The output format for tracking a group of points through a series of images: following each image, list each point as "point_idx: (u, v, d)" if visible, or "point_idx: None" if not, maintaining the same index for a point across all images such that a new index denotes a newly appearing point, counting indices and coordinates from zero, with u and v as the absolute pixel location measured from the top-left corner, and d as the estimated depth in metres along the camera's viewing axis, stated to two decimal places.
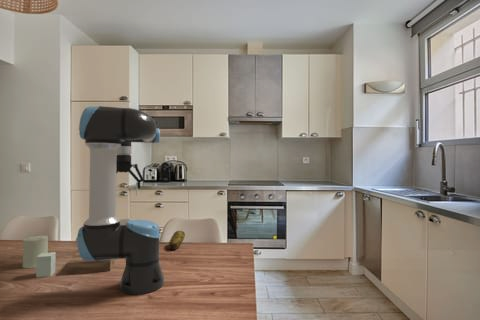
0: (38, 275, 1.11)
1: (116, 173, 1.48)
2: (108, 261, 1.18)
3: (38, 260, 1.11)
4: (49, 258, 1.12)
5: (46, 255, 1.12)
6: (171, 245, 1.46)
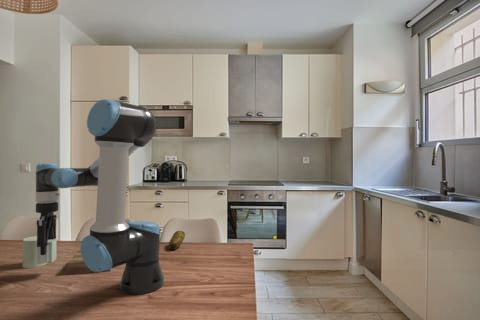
0: (39, 261, 1.10)
1: (50, 227, 1.15)
2: None
3: None
4: (50, 244, 1.12)
5: None
6: (171, 245, 1.46)
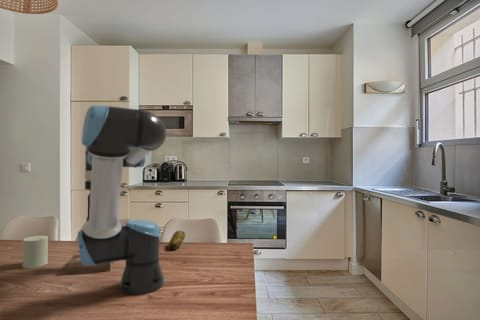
0: None
1: None
2: None
3: (88, 220, 1.21)
4: None
5: None
6: (171, 245, 1.46)
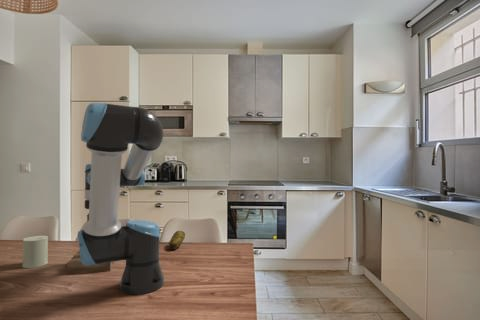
0: None
1: None
2: None
3: None
4: None
5: None
6: (171, 245, 1.45)
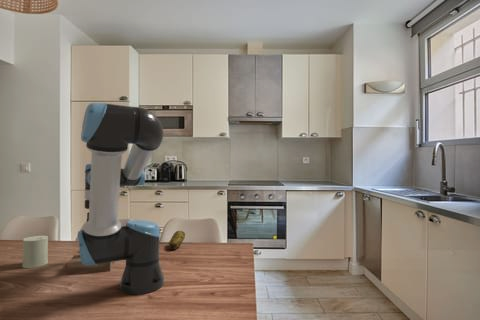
0: None
1: None
2: None
3: None
4: None
5: None
6: (171, 245, 1.45)
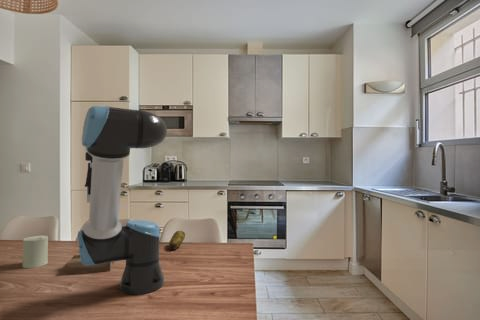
0: None
1: None
2: None
3: None
4: None
5: None
6: (171, 245, 1.45)
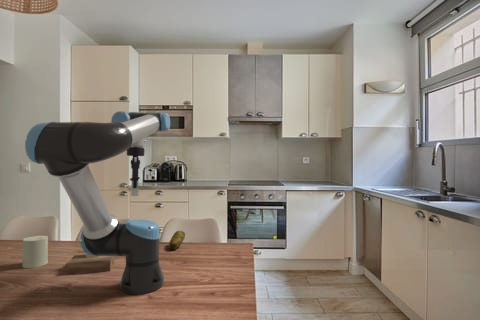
0: (88, 255, 1.21)
1: None
2: (108, 261, 1.18)
3: None
4: None
5: None
6: (171, 245, 1.45)
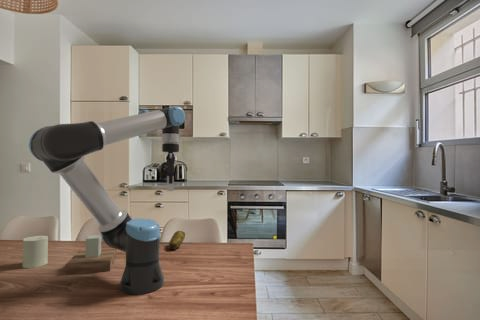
0: (87, 255, 1.21)
1: None
2: (108, 261, 1.18)
3: (87, 242, 1.21)
4: (97, 240, 1.22)
5: (94, 237, 1.22)
6: (171, 245, 1.45)
